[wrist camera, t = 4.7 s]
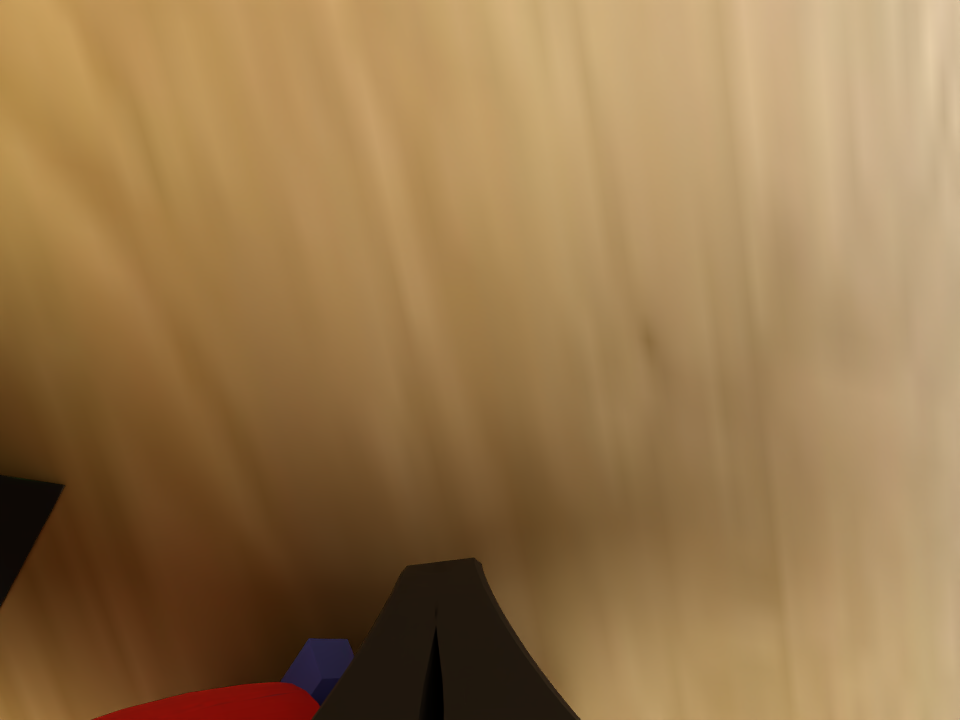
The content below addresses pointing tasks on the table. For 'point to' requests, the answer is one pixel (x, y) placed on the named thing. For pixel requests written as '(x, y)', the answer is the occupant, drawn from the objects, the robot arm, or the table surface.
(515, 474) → the table surface
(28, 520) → the toy
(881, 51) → the table surface
